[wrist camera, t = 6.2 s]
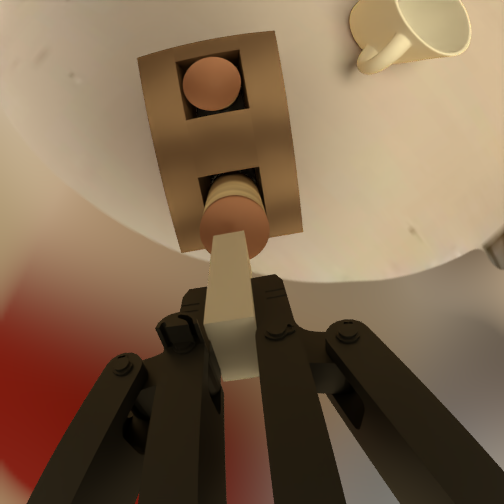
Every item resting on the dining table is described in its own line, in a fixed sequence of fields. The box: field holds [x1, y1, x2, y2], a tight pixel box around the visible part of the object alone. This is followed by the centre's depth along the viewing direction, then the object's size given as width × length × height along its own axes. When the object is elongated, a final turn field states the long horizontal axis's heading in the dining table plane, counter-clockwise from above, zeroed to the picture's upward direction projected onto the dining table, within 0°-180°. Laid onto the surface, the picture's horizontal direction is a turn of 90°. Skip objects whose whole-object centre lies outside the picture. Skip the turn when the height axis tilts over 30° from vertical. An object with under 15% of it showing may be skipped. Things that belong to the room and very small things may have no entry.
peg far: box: [183, 57, 241, 111], centre depth 21 cm, size 4×4×8 cm
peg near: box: [200, 171, 270, 259], centre depth 20 cm, size 4×4×8 cm
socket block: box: [137, 31, 303, 253], centre depth 24 cm, size 16×10×8 cm, turn 9°
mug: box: [349, 0, 471, 75], centre depth 19 cm, size 12×8×10 cm
